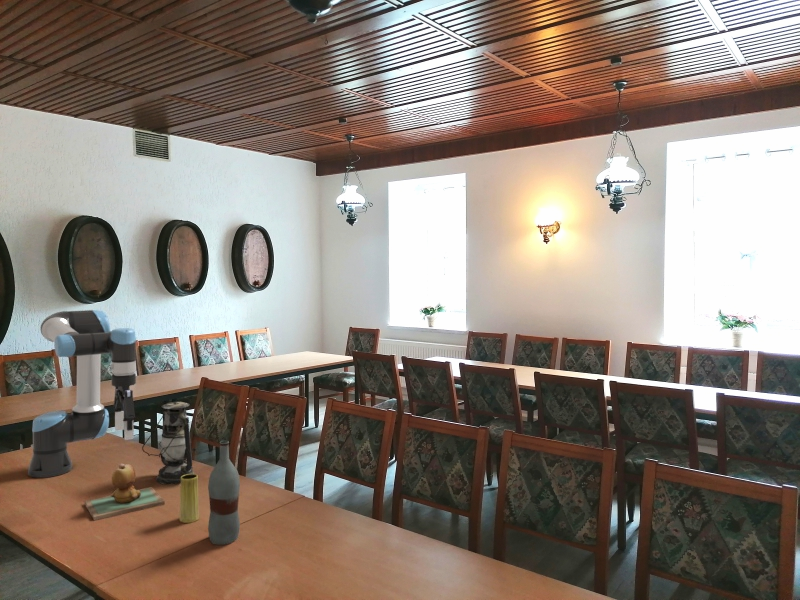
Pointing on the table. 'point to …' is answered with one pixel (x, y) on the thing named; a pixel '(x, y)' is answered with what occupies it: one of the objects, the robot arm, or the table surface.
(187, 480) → the vase
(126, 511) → the green framed board
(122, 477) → the figurine
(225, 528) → the bottle
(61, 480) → the table surface
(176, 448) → the lantern
